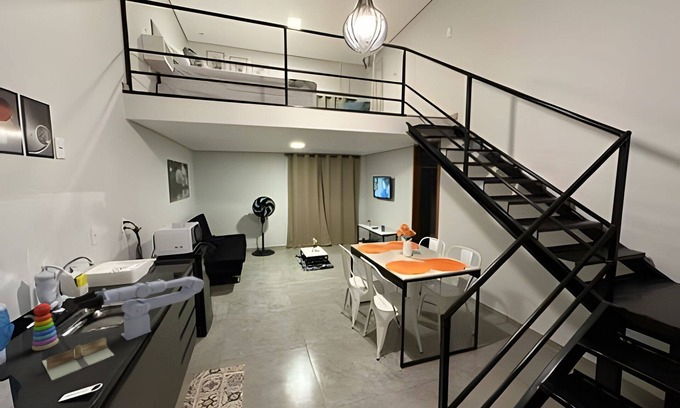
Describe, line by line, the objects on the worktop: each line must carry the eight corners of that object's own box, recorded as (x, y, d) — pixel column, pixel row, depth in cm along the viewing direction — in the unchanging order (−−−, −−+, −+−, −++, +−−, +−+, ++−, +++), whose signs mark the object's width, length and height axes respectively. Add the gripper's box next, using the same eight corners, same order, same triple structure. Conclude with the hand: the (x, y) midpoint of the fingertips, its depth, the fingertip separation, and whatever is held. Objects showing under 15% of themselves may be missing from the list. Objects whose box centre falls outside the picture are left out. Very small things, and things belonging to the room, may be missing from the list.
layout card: (101, 340, 125) (101, 339, 125) (115, 355, 115) (115, 354, 115) (42, 361, 110) (42, 360, 110) (52, 381, 100) (52, 380, 100)
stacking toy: (64, 340, 125) (60, 300, 124) (45, 351, 117) (42, 308, 116) (45, 341, 125) (42, 300, 123) (26, 351, 117) (22, 308, 115)
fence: (105, 347, 120) (104, 335, 120) (107, 348, 119) (106, 337, 119) (74, 358, 112) (73, 346, 112) (76, 360, 111) (75, 348, 111)
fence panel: (73, 357, 112) (73, 348, 111) (74, 359, 111) (74, 350, 111) (47, 368, 106) (46, 358, 105) (47, 369, 105) (46, 359, 105)
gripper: (111, 282, 128) (71, 289, 117) (123, 289, 120) (81, 298, 109) (111, 297, 129) (71, 306, 117) (122, 306, 120) (80, 316, 109)
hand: (75, 303), depth 113 cm, fingers open, 7 cm apart
